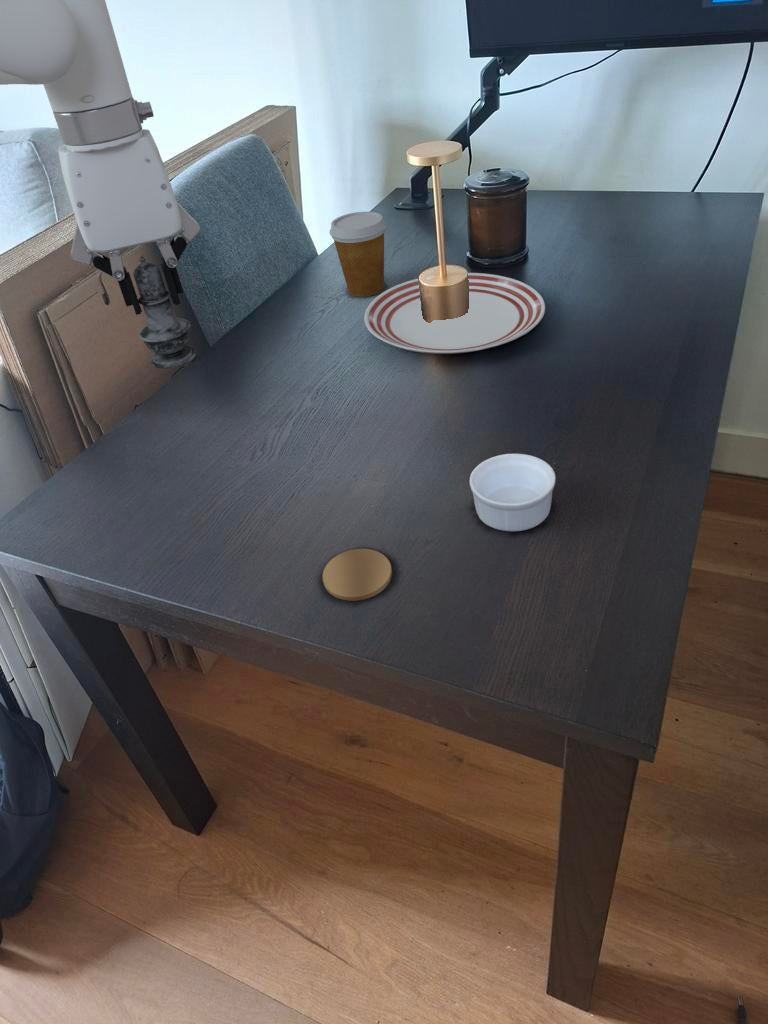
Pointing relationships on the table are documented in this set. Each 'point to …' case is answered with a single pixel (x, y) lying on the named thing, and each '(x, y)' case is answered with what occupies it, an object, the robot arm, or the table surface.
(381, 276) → the disposable coffee cup
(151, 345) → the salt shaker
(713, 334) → the table surface
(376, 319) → the dinner plate
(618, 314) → the table surface
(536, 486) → the ramekin
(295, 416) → the table surface
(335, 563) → the coaster
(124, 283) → the robot arm
